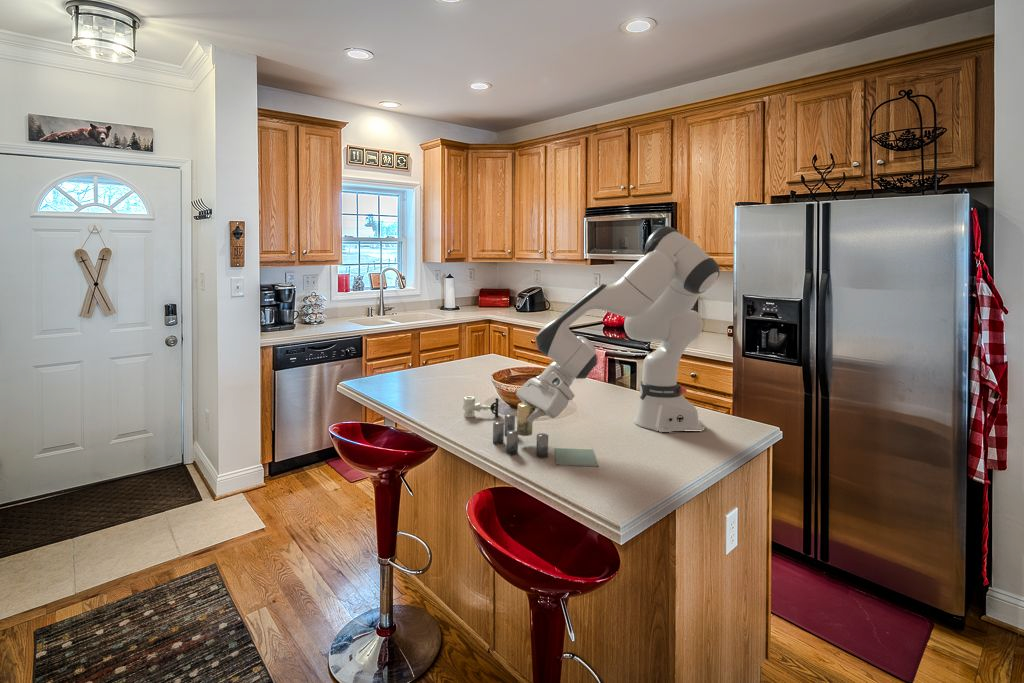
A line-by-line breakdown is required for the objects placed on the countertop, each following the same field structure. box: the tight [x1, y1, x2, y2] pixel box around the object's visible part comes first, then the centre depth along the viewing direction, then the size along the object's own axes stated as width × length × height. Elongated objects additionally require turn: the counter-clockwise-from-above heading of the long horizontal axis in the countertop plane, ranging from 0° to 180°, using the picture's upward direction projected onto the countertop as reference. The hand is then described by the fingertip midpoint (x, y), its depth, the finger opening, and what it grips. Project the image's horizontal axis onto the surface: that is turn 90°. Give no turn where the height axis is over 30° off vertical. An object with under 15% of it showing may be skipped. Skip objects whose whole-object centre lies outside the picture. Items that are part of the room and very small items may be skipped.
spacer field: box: [492, 413, 549, 459], centre depth 155 cm, size 10×23×6 cm, turn 27°
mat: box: [553, 447, 599, 468], centre depth 148 cm, size 11×12×1 cm
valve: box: [462, 396, 500, 418], centre depth 183 cm, size 7×7×12 cm
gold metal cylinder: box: [516, 403, 534, 437], centre depth 156 cm, size 4×4×8 cm
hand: (523, 418), depth 156 cm, fingers closed on gold metal cylinder, 4 cm apart
